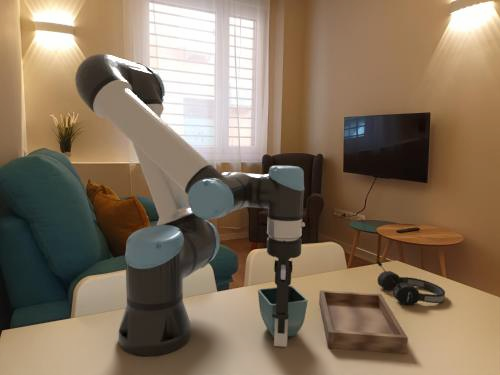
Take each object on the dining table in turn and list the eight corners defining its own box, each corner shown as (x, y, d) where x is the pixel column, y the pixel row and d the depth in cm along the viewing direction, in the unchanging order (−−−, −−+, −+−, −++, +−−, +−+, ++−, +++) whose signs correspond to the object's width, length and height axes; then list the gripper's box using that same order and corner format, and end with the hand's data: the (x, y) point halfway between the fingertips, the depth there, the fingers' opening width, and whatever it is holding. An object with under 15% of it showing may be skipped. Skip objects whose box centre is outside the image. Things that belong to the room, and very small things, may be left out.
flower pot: (256, 325, 87) (257, 288, 86) (290, 320, 90) (292, 285, 89) (269, 345, 79) (270, 304, 78) (306, 339, 81) (308, 300, 80)
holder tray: (327, 347, 78) (328, 332, 78) (319, 302, 100) (319, 290, 100) (406, 353, 77) (407, 337, 76) (380, 306, 99) (381, 294, 98)
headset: (368, 254, 111) (430, 260, 114) (363, 285, 112) (424, 290, 115) (391, 270, 98) (460, 277, 100) (384, 305, 99) (453, 310, 101)
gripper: (304, 253, 70) (299, 363, 72) (299, 225, 93) (296, 309, 96) (263, 251, 70) (260, 360, 73) (269, 224, 93) (267, 307, 96)
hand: (280, 331), depth 84 cm, fingers open, 11 cm apart
